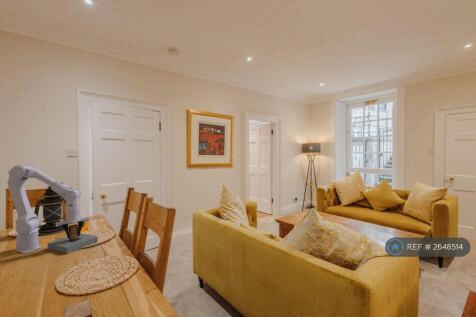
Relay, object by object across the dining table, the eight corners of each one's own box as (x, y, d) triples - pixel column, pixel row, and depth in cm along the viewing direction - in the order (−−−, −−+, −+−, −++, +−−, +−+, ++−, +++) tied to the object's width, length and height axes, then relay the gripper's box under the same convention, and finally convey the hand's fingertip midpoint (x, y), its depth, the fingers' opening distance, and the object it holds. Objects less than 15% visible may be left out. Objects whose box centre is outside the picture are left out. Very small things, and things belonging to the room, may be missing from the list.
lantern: (33, 238, 133) (32, 187, 132) (31, 232, 143) (29, 185, 142) (75, 229, 147) (74, 183, 146) (69, 224, 158) (68, 181, 157)
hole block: (47, 248, 118) (47, 243, 118) (79, 237, 133) (78, 232, 133) (67, 253, 112) (67, 247, 112) (97, 241, 127) (97, 236, 127)
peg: (67, 242, 122) (67, 226, 121) (75, 240, 125) (75, 224, 125) (71, 244, 120) (71, 227, 120) (79, 241, 123) (79, 225, 123)
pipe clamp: (82, 230, 146) (82, 220, 146) (88, 230, 146) (88, 220, 145) (65, 237, 134) (65, 226, 134) (72, 237, 134) (72, 227, 133)
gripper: (55, 215, 114) (56, 242, 115) (89, 211, 123) (90, 235, 124) (55, 213, 120) (56, 238, 120) (88, 208, 129) (89, 232, 129)
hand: (73, 236), depth 122 cm, fingers closed on peg, 4 cm apart
